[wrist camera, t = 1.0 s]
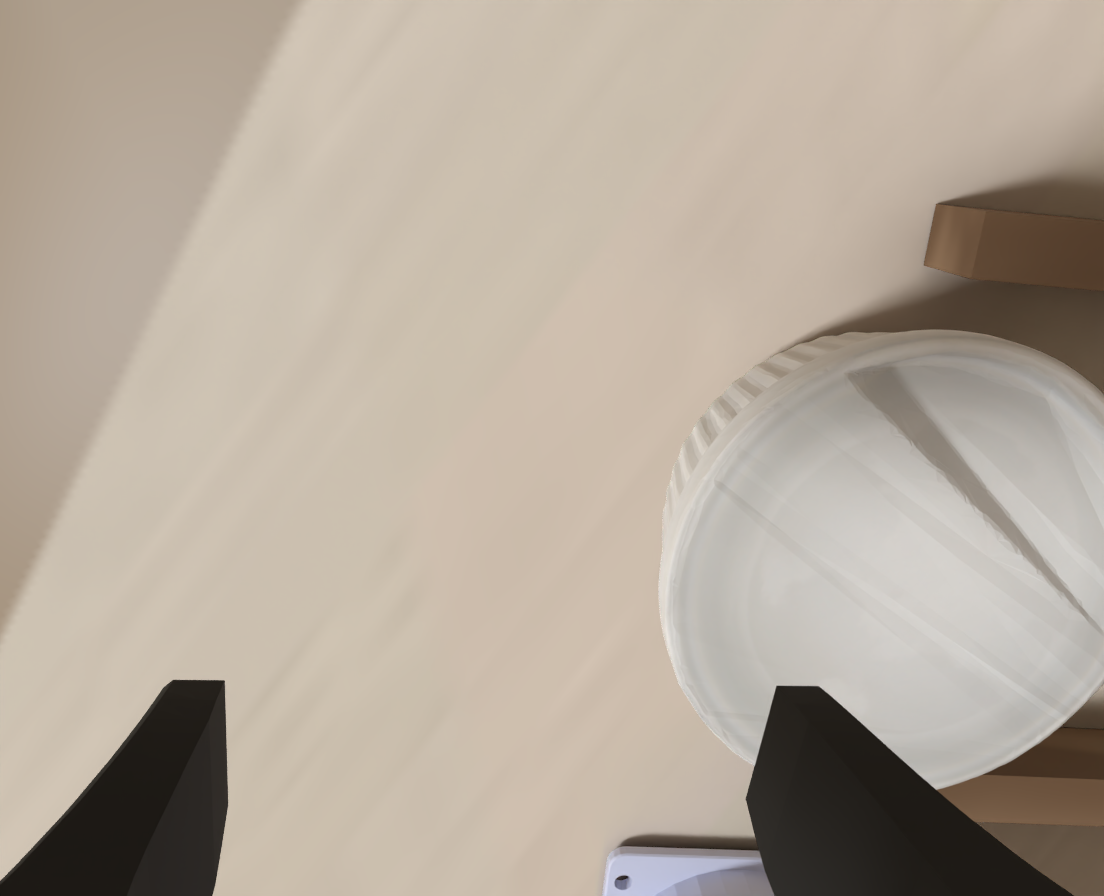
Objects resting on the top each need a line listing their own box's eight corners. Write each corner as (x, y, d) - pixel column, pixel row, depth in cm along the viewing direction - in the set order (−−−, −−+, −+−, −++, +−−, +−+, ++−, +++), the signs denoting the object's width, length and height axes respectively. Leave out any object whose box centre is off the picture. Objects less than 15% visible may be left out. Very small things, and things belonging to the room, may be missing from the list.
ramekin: (1098, 342, 26) (1247, 392, 21) (960, 710, 29) (1061, 831, 24) (688, 256, 24) (742, 286, 19) (589, 653, 28) (614, 768, 23)
